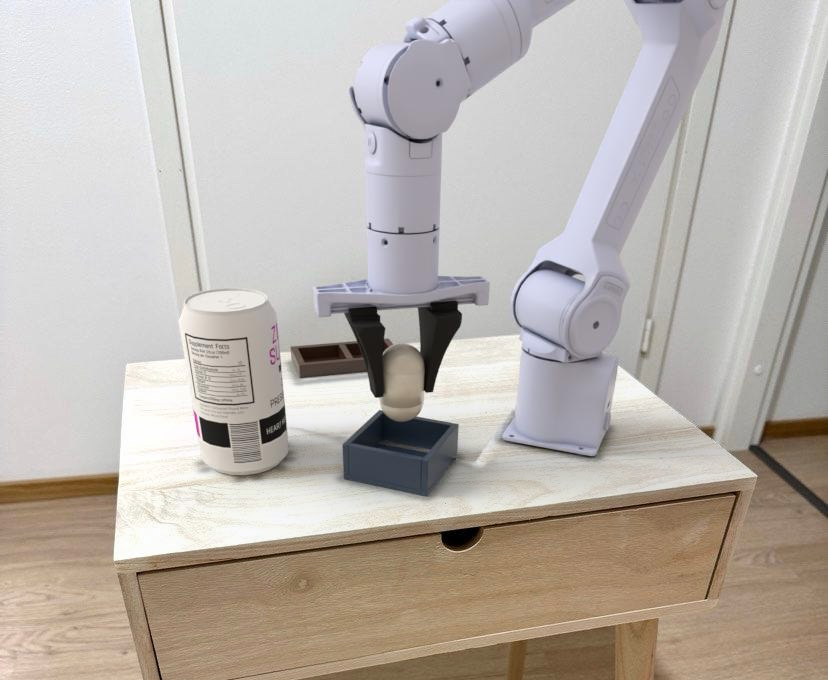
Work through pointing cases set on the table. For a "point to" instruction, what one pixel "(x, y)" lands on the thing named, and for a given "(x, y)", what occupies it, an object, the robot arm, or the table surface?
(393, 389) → the cream capsule
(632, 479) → the table surface
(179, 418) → the table surface
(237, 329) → the supplement can
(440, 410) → the table surface
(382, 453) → the bin
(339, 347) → the tray
